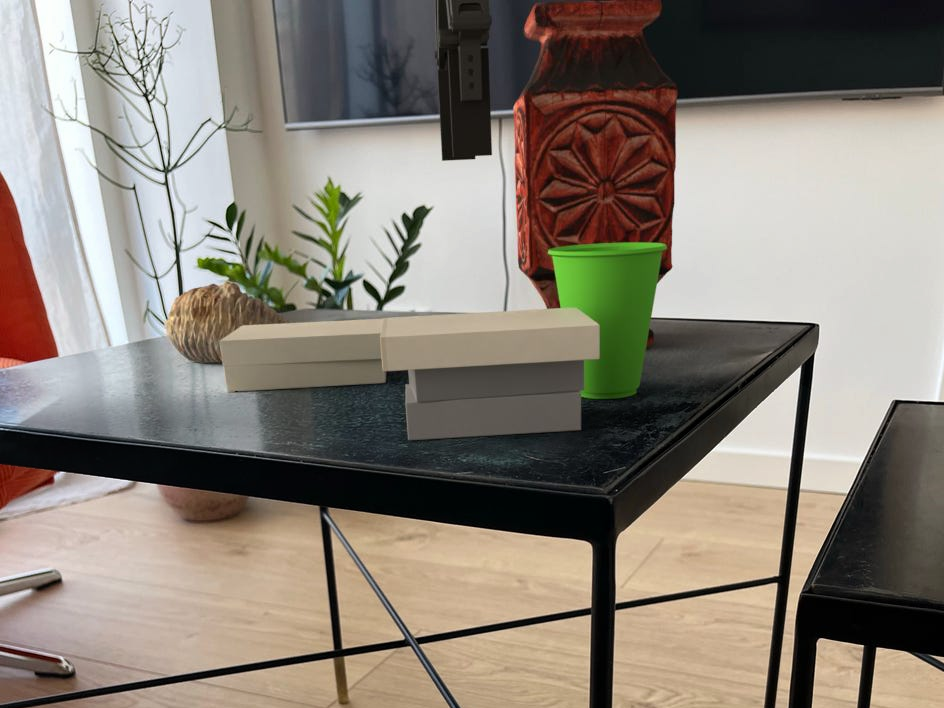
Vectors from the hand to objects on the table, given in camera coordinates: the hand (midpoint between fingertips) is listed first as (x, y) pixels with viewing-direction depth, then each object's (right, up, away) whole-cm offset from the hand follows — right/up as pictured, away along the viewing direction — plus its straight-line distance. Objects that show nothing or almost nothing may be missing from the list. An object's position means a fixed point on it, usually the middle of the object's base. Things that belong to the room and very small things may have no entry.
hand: (465, 158), depth 77 cm
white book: (+2, -17, -6) cm, 18 cm away
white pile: (-15, -12, +17) cm, 26 cm away
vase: (+13, -6, +28) cm, 32 cm away
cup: (+11, -17, +5) cm, 21 cm away
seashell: (-26, -7, +31) cm, 40 cm away
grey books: (+2, -21, -4) cm, 22 cm away
